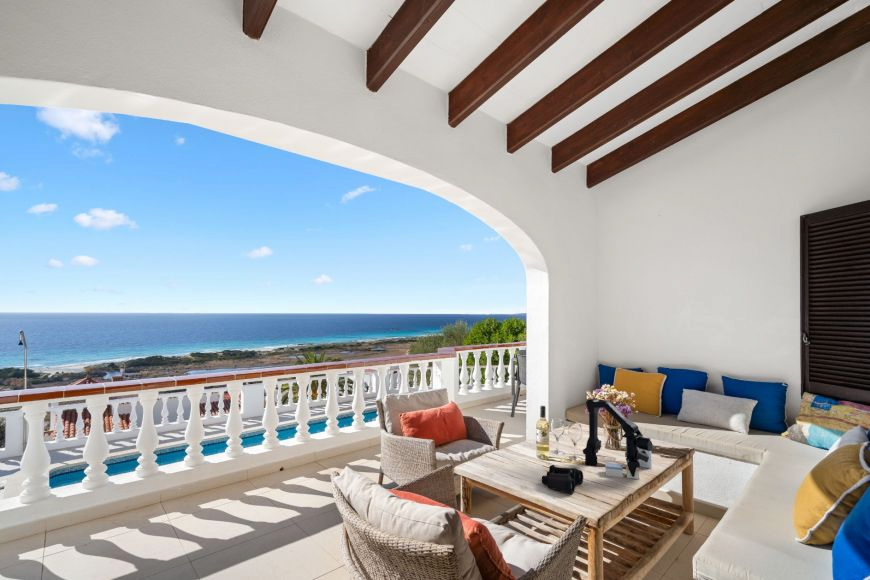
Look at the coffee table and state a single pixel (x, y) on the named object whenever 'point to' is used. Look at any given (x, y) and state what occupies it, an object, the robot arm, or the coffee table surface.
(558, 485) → the binoculars
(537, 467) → the coffee table surface
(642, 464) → the photo printer
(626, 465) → the stub
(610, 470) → the ticket book
